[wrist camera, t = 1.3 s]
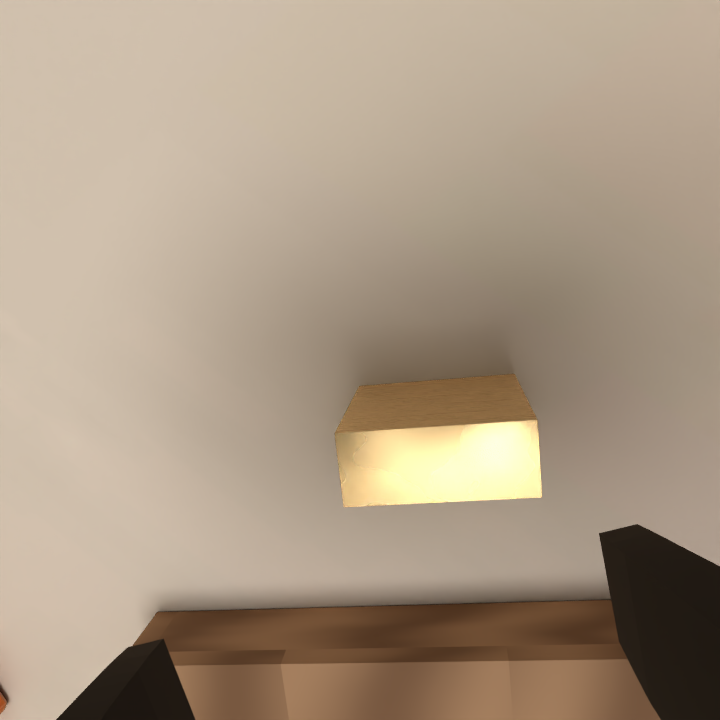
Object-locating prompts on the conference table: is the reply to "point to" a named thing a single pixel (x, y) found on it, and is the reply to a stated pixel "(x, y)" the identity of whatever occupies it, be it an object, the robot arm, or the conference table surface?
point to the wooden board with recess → (404, 662)
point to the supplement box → (2, 703)
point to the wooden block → (439, 443)
